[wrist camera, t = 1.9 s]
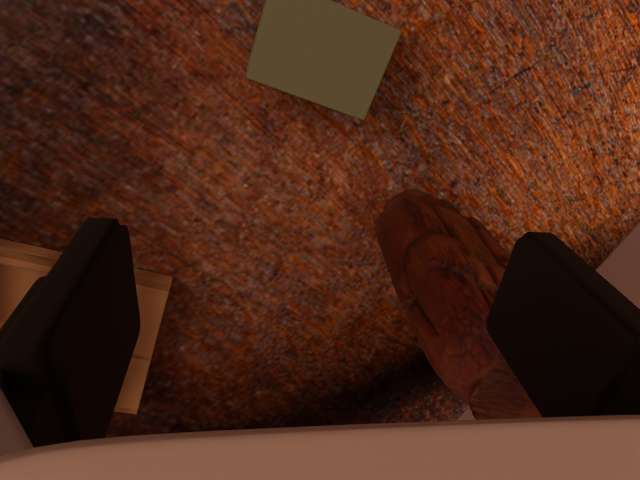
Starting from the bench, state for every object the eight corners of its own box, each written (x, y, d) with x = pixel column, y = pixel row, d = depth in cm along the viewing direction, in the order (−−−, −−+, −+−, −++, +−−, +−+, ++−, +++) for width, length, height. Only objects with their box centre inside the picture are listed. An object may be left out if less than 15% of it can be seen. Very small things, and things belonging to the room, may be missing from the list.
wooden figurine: (512, 240, 36) (700, 436, 21) (459, 295, 38) (593, 506, 23) (403, 170, 32) (541, 352, 16) (352, 236, 34) (430, 450, 19)
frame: (-52, 368, 36) (-93, 421, 31) (-55, 225, 30) (-107, 267, 25) (141, 396, 40) (127, 446, 36) (173, 276, 34) (161, 319, 30)
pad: (247, 65, 27) (245, 78, 23) (272, -25, 25) (275, -25, 21) (351, 103, 29) (364, 120, 25) (383, 24, 27) (402, 31, 23)
